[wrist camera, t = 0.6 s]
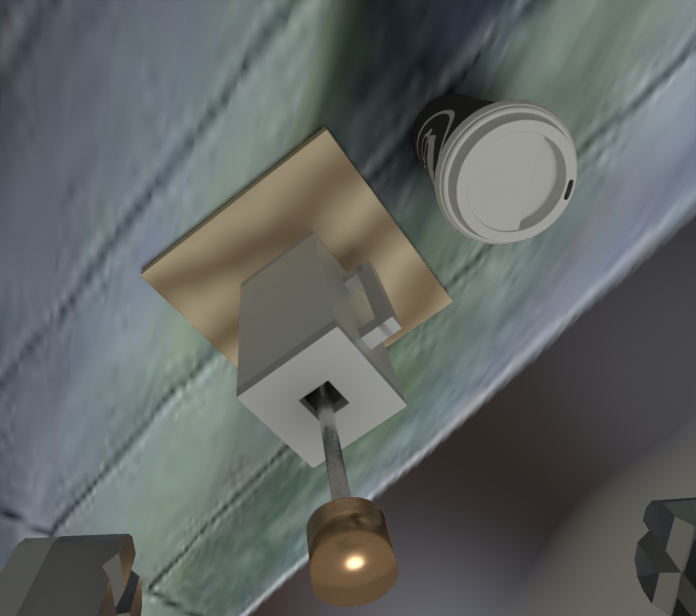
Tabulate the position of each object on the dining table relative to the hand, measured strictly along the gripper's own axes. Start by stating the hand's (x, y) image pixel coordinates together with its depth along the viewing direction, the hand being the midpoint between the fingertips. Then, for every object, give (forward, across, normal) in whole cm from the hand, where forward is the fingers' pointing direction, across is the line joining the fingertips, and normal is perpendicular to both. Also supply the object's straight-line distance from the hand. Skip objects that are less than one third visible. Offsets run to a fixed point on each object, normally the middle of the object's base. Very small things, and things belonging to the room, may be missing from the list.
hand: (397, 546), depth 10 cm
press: (+44, -1, +11) cm, 45 cm away
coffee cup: (+45, -12, -1) cm, 46 cm away
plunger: (+34, 0, +13) cm, 36 cm away
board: (+45, +1, +12) cm, 47 cm away
